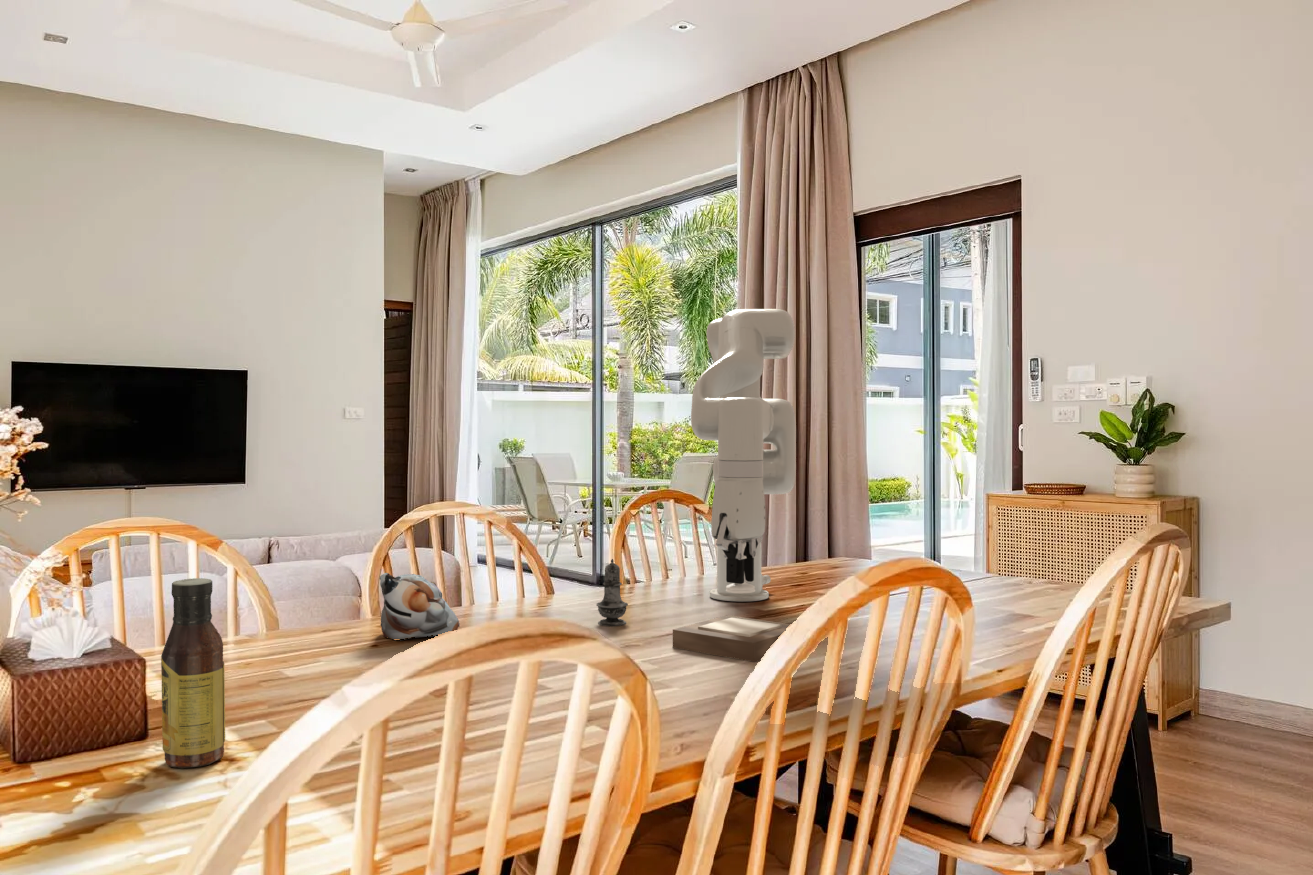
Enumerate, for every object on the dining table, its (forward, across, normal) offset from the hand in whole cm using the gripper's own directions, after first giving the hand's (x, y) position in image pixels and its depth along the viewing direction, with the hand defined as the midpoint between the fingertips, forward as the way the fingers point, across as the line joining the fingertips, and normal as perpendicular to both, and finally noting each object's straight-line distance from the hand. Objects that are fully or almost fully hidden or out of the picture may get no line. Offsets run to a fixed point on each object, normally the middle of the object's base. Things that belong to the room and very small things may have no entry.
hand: (740, 580), depth 166 cm
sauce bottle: (+11, +85, -15) cm, 87 cm away
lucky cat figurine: (+11, +29, -48) cm, 57 cm away
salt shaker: (+11, -1, -29) cm, 31 cm away
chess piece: (+2, 0, 0) cm, 2 cm away
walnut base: (+11, 0, 0) cm, 11 cm away
